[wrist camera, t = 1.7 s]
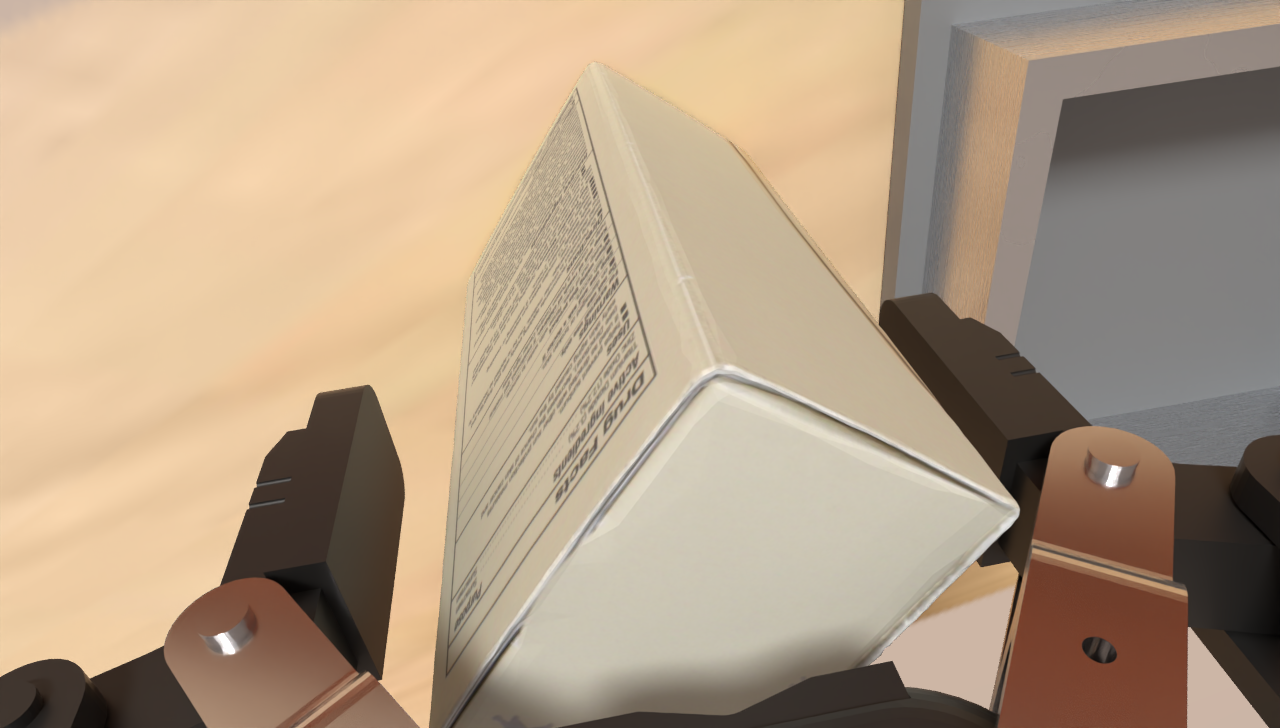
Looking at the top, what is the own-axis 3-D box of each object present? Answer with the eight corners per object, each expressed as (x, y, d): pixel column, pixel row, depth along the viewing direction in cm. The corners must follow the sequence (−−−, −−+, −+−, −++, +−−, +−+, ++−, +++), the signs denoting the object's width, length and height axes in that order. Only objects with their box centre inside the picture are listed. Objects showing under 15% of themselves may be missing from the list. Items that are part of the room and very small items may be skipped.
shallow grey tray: (1509, -56, 18) (1673, -35, 15) (1298, 401, 25) (1386, 466, 22) (951, 24, 17) (1029, 60, 14) (901, 472, 24) (946, 547, 22)
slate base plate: (1518, -100, 18) (1556, -97, 17) (1290, 400, 26) (1311, 415, 25) (905, -14, 17) (922, -7, 16) (867, 475, 25) (876, 493, 24)
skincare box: (614, 348, 21) (716, 824, 11) (456, 278, 19) (408, 770, 9) (754, 141, 18) (1052, 521, 9) (586, 38, 17) (711, 366, 7)
